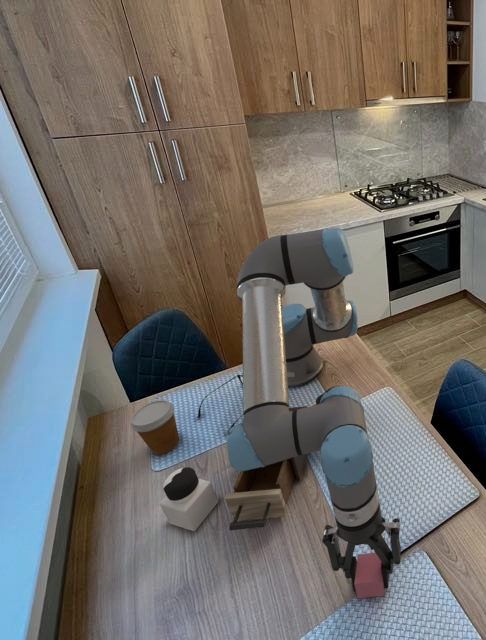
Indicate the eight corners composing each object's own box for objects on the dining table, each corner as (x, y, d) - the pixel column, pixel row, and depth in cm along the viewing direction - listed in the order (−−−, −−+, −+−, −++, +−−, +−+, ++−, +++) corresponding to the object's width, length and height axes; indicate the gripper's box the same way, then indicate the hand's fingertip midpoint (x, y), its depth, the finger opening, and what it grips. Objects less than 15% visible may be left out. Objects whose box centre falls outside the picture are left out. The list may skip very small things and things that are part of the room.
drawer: (279, 539, 86) (271, 516, 82) (224, 545, 85) (214, 522, 82) (301, 462, 102) (295, 440, 99) (255, 466, 101) (247, 444, 98)
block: (360, 568, 81) (357, 554, 78) (385, 566, 81) (383, 551, 79) (357, 598, 76) (354, 584, 74) (384, 595, 76) (381, 581, 74)
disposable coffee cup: (182, 452, 107) (168, 419, 102) (140, 465, 104) (123, 432, 99) (189, 425, 115) (175, 394, 110) (150, 436, 112) (134, 404, 107)
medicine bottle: (219, 501, 94) (204, 466, 89) (194, 532, 88) (177, 497, 83) (195, 494, 96) (179, 459, 91) (169, 523, 90) (150, 488, 85)
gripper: (296, 534, 64) (320, 610, 74) (410, 523, 65) (418, 600, 75) (308, 489, 71) (328, 564, 81) (410, 480, 72) (418, 555, 82)
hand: (371, 581), depth 78 cm, fingers closed on block, 5 cm apart
